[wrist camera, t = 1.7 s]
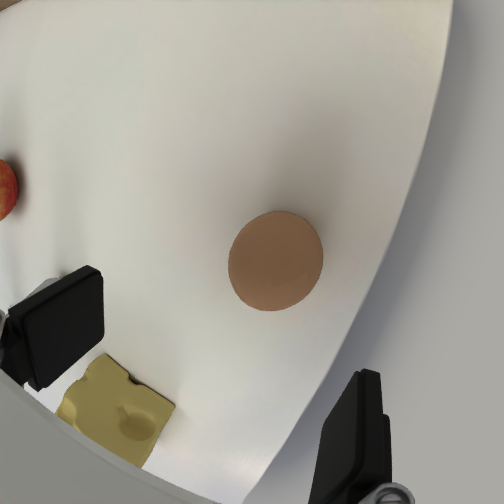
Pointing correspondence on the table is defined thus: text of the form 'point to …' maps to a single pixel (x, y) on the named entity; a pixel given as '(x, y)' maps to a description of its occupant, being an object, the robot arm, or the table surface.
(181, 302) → the table surface
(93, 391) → the cheese
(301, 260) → the egg
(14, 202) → the fruit
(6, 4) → the compartment tray
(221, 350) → the table surface
